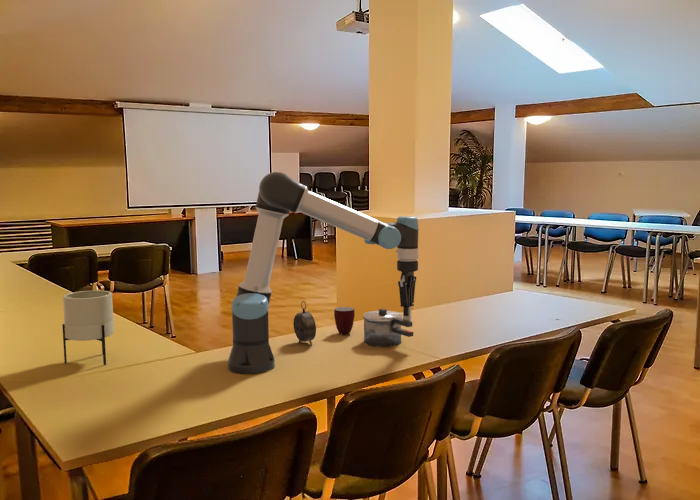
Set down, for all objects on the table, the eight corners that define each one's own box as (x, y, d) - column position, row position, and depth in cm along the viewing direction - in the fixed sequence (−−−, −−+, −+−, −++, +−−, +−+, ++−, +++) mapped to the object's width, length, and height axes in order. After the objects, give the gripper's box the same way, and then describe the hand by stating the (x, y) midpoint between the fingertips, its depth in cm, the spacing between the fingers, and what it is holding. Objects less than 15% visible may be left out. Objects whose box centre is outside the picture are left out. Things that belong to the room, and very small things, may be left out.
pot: (396, 354, 214) (396, 329, 213) (356, 340, 233) (356, 317, 232) (425, 348, 222) (425, 324, 221) (385, 335, 241) (385, 312, 240)
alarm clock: (317, 345, 226) (316, 302, 224) (304, 348, 223) (303, 304, 221) (303, 339, 235) (303, 297, 233) (291, 341, 233) (290, 299, 231)
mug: (352, 338, 237) (352, 312, 236) (332, 337, 238) (332, 312, 237) (355, 331, 247) (355, 307, 246) (335, 330, 248) (335, 306, 247)
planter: (65, 357, 212) (61, 292, 209) (114, 352, 218) (111, 288, 216) (63, 370, 198) (59, 300, 196) (116, 364, 204) (112, 296, 202)
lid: (393, 329, 212) (393, 320, 212) (355, 316, 232) (355, 308, 232) (425, 324, 220) (425, 315, 220) (386, 312, 240) (386, 304, 240)
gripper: (404, 256, 226) (403, 319, 229) (391, 261, 214) (390, 327, 217) (423, 257, 223) (422, 321, 226) (411, 262, 211) (410, 329, 214)
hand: (407, 324), depth 222 cm, fingers closed
